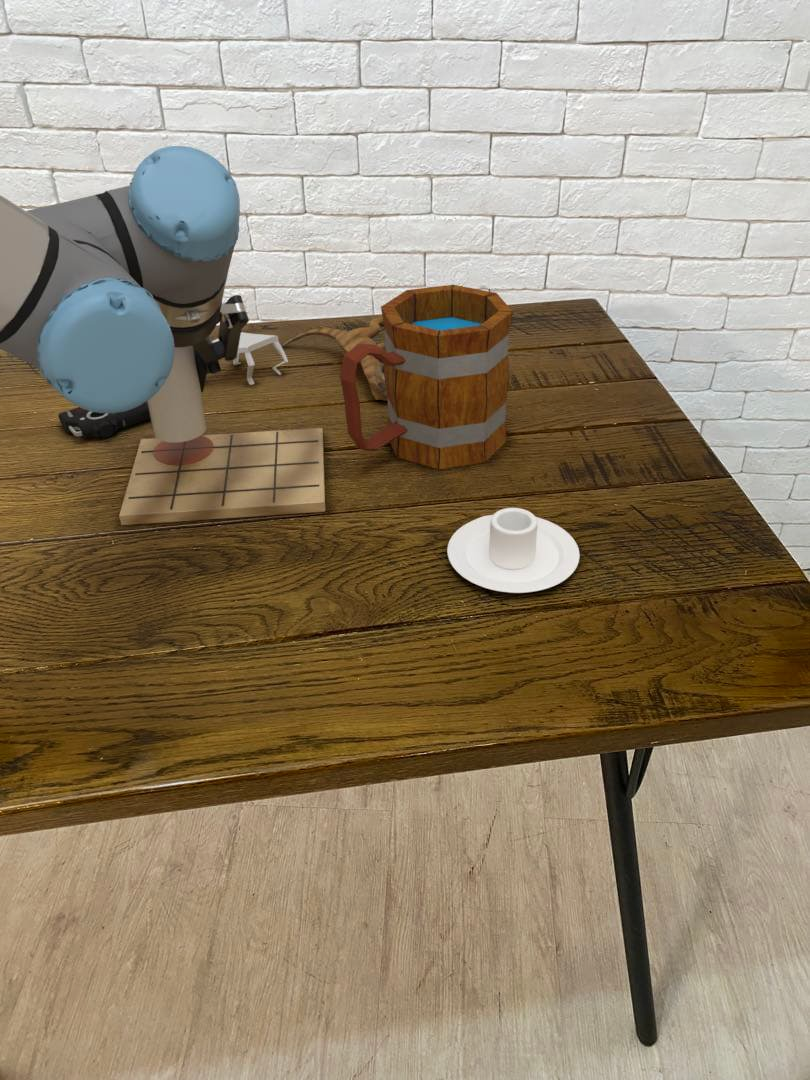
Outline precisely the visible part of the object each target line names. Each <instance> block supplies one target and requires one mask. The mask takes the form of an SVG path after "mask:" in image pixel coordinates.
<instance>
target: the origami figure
mask: <svg viewBox="0 0 810 1080" xmlns="http://www.w3.org/2000/svg"><path fill="white" fill-rule="evenodd" d="M217 341H219V339H218V338H216V339H214V340H212V343H214V342H217ZM269 344H270V345H272V346H273V348H274V349H275V350H276V351H277V352H278V354H279V356H280V357H281V359H282V360H283V361H281V362H279V363H277V364H276V365H274V366H273V367H271V369H272V370H273V371H274V372H275V373H276V374H277V375H279V376H281V375H282V372H281V371H280V370H278V367H280V366H282V365H285V364H286V363H288V362H289V360H288V357H287V355H286V352H285V351H284V349H283V346H282V345H281V342H280V341H279V336H278V335H274V334H263V333H261V334H260V333H250V332H242V331H241V335H240V341H239V346H238V352H237V357H236V358H235V359H234V360H232V365H234V366H237V367H238V366H240V365H242V362H239V359H240V354H244V357H245V360H246V363H247V372H246V380H247V383H248V385H250V386H253V385H255V384H256V383H255V381H254V379H253V377H252V376H253V373H254V370H255V365H256V364H255V360H254V358H253V355H252V354H251V352H253V351H255V350H257V349H261V348H262V347H265V346H268V345H269Z"/></svg>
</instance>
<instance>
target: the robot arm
mask: <svg viewBox="0 0 810 1080" xmlns="http://www.w3.org/2000/svg"><path fill="white" fill-rule="evenodd" d="M130 180H131V181H130V182H129V185H126V186H121V187H117V188H113V189H109V190H105V191H104V192H102V193H97V194H93V195H89V196H85V197H81V198H76V199H71V200H67V201H63V202H59V203H55V204H50V205H45V206H42V207H36V208H33V209H29V210H26V209H24V208H22V207H20V206H19V205H18V204H15V203H14V202H13V201H11V200H10V199H8V198H6V197H5V196H3V195H1V194H0V350H2V351H4V352H5V353H7V354H9V355H12V356H13V357H15V358H17V359H19V360H21V361H22V362H25V363H27V364H29V365H31V366H33V367H34V368H37V369H38V370H40V372H41V375H42V377H43V378H44V379H45V381H46V382H47V383H48V384H49V385H51V387H52V388H53V389H54V390H55V391H56V392H58V393H60V395H61V396H62V397H63V398H64V399H66V401H68V402H69V403H70V404H73V405H74V406H76V407H77V408H78V407H80V408H82V409H85V410H88V411H91V412H97V413H118V412H124V411H127V410H130V409H133V408H135V407H138V406H141V405H145V402H146V401H148V400H149V399H150V398H151V397H153V396H154V395H155V394H156V393H157V392H158V391H159V389H160V388H161V386H162V385H163V384H165V383H164V382H165V380H166V379H167V377H168V376H169V373H170V371H171V368H172V365H173V360H174V347H177V348H180V347H188V346H193V348H194V353H195V359H196V364H197V370H198V376H199V382H200V387H201V393H203V392H204V389H205V385H206V379H207V375H209V374H210V375H214V374H218V373H220V372H221V371H222V368H221V365H220V362H219V361H220V360H221V359H224V360H225V361H226V362H231V361H233V360H234V359H235V358H236V357H237V352H238V346H239V341H240V335H241V332H242V330H243V329H244V328H245V327H246V325H247V324H248V323H249V321H250V319H249V316H248V313H247V309H246V307H245V304H244V301H243V298H242V295H240V294H235V295H232V296H230V297H229V298H228V299H227V301H225V302H224V301H223V297H224V294H225V289H226V284H227V280H228V275H229V270H230V266H231V262H232V257H233V253H234V250H235V246H236V244H237V241H238V240H239V233H240V216H241V215H240V214H241V200H240V199H241V198H240V194H239V190H238V187H237V183H236V181H235V180H234V178H233V176H232V174H231V173H230V171H229V170H228V169H227V168H226V167H225V166H224V164H222V163H221V161H219V160H218V159H217V158H215V157H214V156H212V155H211V154H209V153H207V152H205V151H203V150H201V149H198V148H196V147H192V146H185V145H170V146H165V147H162V148H158V149H156V150H154V151H153V152H152V153H150V154H149V155H147V156H146V157H145V158H144V159H143V160H142V161H141V162H140V163H139V164H138V166H137V167H136V169H135V170H134V173H133V175H132V177H131V179H130ZM218 324H219V327H218V334H217V335H218V336H217V339H219V341H217V342H214V343H212V341H213V340H212V339H211V337H210V336H211V334H212V333H213V331H214V330H215V328H216V326H217V325H218Z"/></svg>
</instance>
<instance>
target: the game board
mask: <svg viewBox="0 0 810 1080" xmlns="http://www.w3.org/2000/svg"><path fill="white" fill-rule="evenodd" d="M324 446H325V445H324V428H323V427H315V428H314V427H313V428H298V429H296V428H295V429H282V430H281V429H279V430H266V431H264V430H263V431H250V432H249V431H248V432H235V433H217V434H202V435H201V436H199V437H197V438H195V439H193V440H189V441H185V442H178V443H170V442H164V441H161V440H159V439H157V438H156V437H154V438H153V437H152V438H141V439H140V442H139V444H138V449H137V451H136V455H135V459H134V462H133V466H132V469H131V472H130V475H129V480H128V483H127V487H126V490H125V494H124V497H123V500H122V504H121V507H120V511H119V514H118V517H119V520H120V521H119V522H120V525H121V526H132V525H133V526H134V525H149V524H159V523H160V524H162V523H163V524H164V523H177V522H192V521H207V520H223V519H236V518H237V519H238V518H251V517H265V516H266V517H267V516H281V515H295V514H296V515H297V514H310V513H324V512H326V511H327V510H326V479H325V478H326V475H325V474H326V473H325V452H324V451H325V450H324V449H325V447H324Z"/></svg>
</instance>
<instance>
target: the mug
mask: <svg viewBox="0 0 810 1080" xmlns="http://www.w3.org/2000/svg"><path fill="white" fill-rule="evenodd" d="M380 310H381V317H383V323H384V326H383V328H384V342H385V351H384V350H382V349H381V348H380V347H378V346H377V345H378V344H377V345H373V344H361V343H359V344H357V345H356V346H355V347H354V348H353V349H351V350H350V351H349V352H348V353H347V354H344V355H343V361H342V366H341V371H340V376H339V379H340V384H341V389H342V395H343V399H344V400H343V401H344V413H345V422H346V428H347V433H348V435H349V437H350V438H351V440H352V441H353V443H354V444H355V446H356V447H357V449H359V450H362V451H367V452H377V451H378V450H380V449H382V448H383V447H385V446H386V445H387V444H389V443H390V446H391V448H392V450H393V452H394V454H395V456H396V458H398V459H401V460H405V461H409V462H412V463H415V464H419V465H423V466H425V467H429V468H433V469H436V470H444V469H451V468H456V467H464V466H469V465H477V464H483V463H486V462H487V461H489V460H490V458H492V456H493V455H495V454H496V453H497V452H498V451H499V450H500V448H502V446H503V445H505V444H506V443H507V442H508V437H507V426H506V425H507V424H506V413H507V399H508V392H509V391H508V390H509V384H510V366H509V365H510V364H509V340H510V330H511V325H512V320H513V319H512V318H513V313H514V311H513V310H512V309H511V307H510V306H509V305H508V304H507V303H506V302H505V301H504V300H503V298H502V297H501V296H500V295H499V294H498V293H497V292H494V291H488V290H484V289H483V290H482V289H478V288H473V287H468V286H463V285H458V284H447V285H438V286H429V287H422V288H421V287H420V288H413V289H411V288H410V289H406V290H404V291H403V292H402V293H400V294H398V295H397V296H395V297H394V298H392V299H391V300H388V301H387V302H385V303H384V304H382V305H381V306H380ZM367 355H370V356H374V357H375V358H376V359H377V360H378V361H380V362H381V363H383V364H384V366H383V369H384V377H385V384H386V391H387V398H388V401H387V422H386V423H387V424H386V426H385V427H383V428H382V429H379V430H378V431H377V432H376V433H374V434H373V435H372V436H370V437H369V438H365V437H364V434H363V430H362V429H363V428H362V419H361V418H362V416H361V404H360V399H359V393H358V389H357V385H356V379H357V377H356V375H357V369H358V364H359V362H360V361H361V360H362V359H364V358H365V357H366V356H367Z"/></svg>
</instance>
